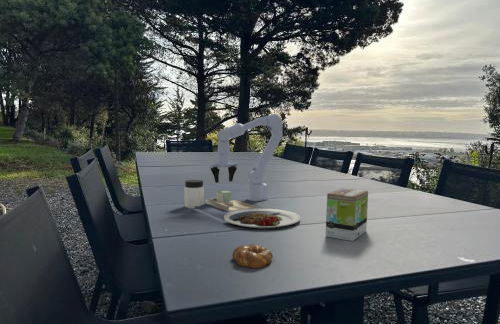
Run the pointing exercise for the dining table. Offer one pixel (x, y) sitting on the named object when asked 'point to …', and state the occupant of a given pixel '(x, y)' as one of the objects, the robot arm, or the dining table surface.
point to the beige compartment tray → (229, 204)
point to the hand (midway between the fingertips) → (223, 182)
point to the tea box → (346, 214)
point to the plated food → (263, 218)
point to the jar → (193, 193)
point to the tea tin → (223, 196)
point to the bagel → (252, 256)
